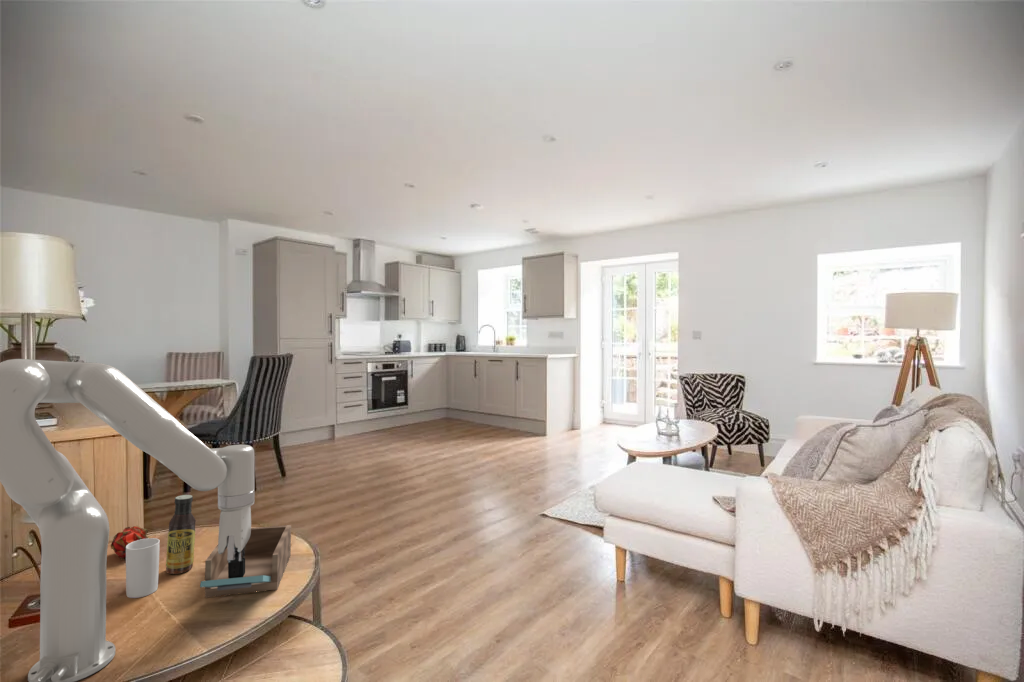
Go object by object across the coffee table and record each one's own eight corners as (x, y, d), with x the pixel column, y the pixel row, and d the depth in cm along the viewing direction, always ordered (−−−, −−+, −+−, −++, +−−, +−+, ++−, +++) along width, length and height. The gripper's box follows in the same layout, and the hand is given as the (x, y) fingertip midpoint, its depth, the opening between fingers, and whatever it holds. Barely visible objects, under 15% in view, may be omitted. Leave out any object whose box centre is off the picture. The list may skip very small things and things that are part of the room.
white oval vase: (155, 595, 121) (155, 547, 121) (121, 601, 119) (121, 551, 119) (164, 577, 131) (165, 531, 131) (133, 581, 128) (134, 535, 128)
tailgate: (269, 586, 125) (262, 585, 116) (211, 592, 121) (199, 591, 112) (270, 576, 125) (263, 575, 117) (213, 582, 122) (200, 581, 113)
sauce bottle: (163, 577, 131) (164, 502, 130) (168, 567, 136) (169, 494, 136) (192, 573, 133) (193, 499, 133) (196, 563, 139) (197, 492, 139)
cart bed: (277, 590, 125) (277, 554, 125) (204, 597, 121) (205, 560, 121) (290, 555, 145) (291, 524, 145) (228, 561, 140) (229, 529, 140)
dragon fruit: (136, 551, 149) (130, 573, 139) (106, 540, 145) (98, 562, 135) (156, 526, 151) (152, 547, 141) (128, 514, 147) (122, 535, 136)
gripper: (227, 490, 123) (228, 563, 123) (207, 511, 108) (208, 595, 109) (261, 487, 125) (261, 560, 125) (246, 508, 110) (246, 590, 111)
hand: (236, 576), depth 117 cm, fingers closed
